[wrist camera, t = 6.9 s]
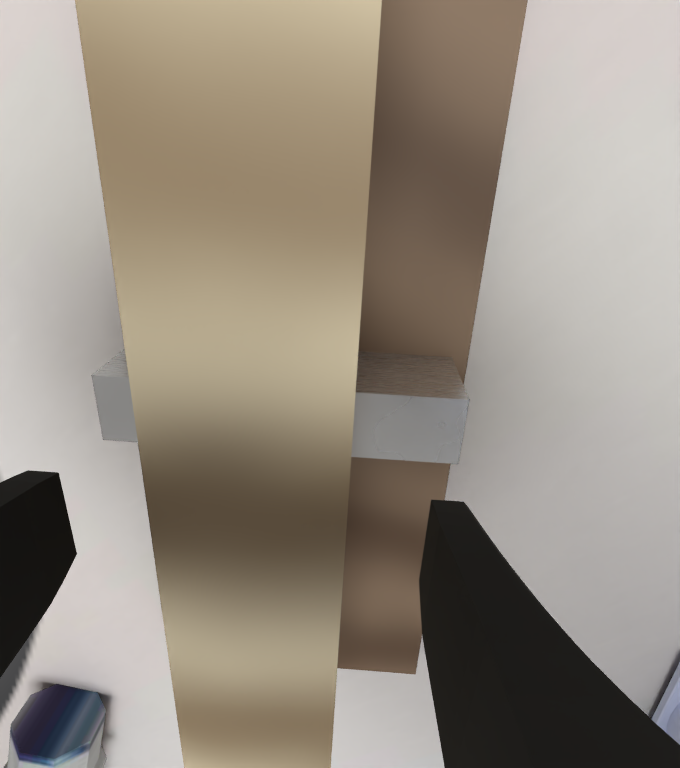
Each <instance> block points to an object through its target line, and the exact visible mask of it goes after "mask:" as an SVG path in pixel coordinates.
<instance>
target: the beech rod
mask: <svg viewBox="0 0 680 768" xmlns="http://www.w3.org/2000/svg"><path fill="white" fill-rule="evenodd" d="M75 4H76V11H77V18H78V25H79V32H80V39H81V46H82V53H83V60H84V67H85V74H86V81H87V88H88V95H89V102H90V109H91V116H92V123H93V130H94V137H95V144H96V151H97V158H98V165H99V172H100V179H101V186H102V193H103V200H104V207H105V214H106V221H107V228H108V235H109V242H110V249H111V256H112V263H113V270H114V277H115V284H116V291H117V298H118V305H119V312H120V320H121V327H122V334H123V341H124V348H125V355H126V362H127V369H128V376H129V383H130V390H131V397H132V404H133V411H134V418H135V425H136V432H137V439H138V446H139V453H140V460H141V467H142V474H143V481H144V488H145V495H146V502H147V509H148V516H149V523H150V530H151V537H152V544H153V551H154V558H155V565H156V572H157V579H158V586H159V593H160V600H161V607H162V614H163V621H164V628H165V635H166V642H167V649H168V656H169V663H170V670H171V678H172V685H173V692H174V699H175V706H176V713H177V720H178V727H179V734H180V741H181V748H182V755H183V762H184V768H330V767H331V752H332V737H333V723H334V708H335V693H336V678H337V663H338V648H339V633H340V618H341V603H342V588H343V573H344V558H345V543H346V528H347V513H348V498H349V484H350V469H351V454H352V439H353V424H354V409H355V394H356V379H357V364H358V349H359V334H360V319H361V304H362V289H363V274H364V259H365V245H366V230H367V215H368V200H369V185H370V170H371V155H372V140H373V125H374V110H375V95H376V80H377V65H378V50H379V35H380V20H381V6H382V0H75Z"/></svg>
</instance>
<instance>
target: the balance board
mask: <svg viewBox="0 0 680 768" xmlns="http://www.w3.org/2000/svg"><path fill="white" fill-rule="evenodd" d="M527 1H528V0H382V6H381V20H380V35H379V50H378V65H377V80H376V95H375V110H374V125H373V140H372V155H371V170H370V185H369V200H368V215H367V230H366V245H365V259H364V274H363V289H362V304H361V319H360V334H359V349H358V351H362V352H378V353H394V354H410V355H426V356H442V357H452V358H453V361H454V363H455V366H456V368H457V371H458V373H459V376H460V378H461V381H462V383H463V385H464V379H465V373H466V367H467V361H468V355H469V349H470V343H471V337H472V331H473V325H474V319H475V313H476V307H477V301H478V295H479V289H480V283H481V277H482V271H483V265H484V259H485V253H486V247H487V241H488V235H489V229H490V223H491V217H492V211H493V205H494V199H495V193H496V187H497V181H498V175H499V169H500V163H501V157H502V151H503V145H504V139H505V133H506V127H507V121H508V115H509V109H510V103H511V97H512V91H513V85H514V79H515V73H516V67H517V61H518V55H519V49H520V43H521V37H522V31H523V25H524V19H525V13H526V7H527ZM449 469H450V464H449V463H434V462H419V461H405V460H390V459H376V458H361V457H351V469H350V484H349V498H348V513H347V528H346V543H345V558H344V573H343V588H342V603H341V618H340V633H339V648H338V663H337V668H343V669H356V670H368V671H381V672H393V673H406V674H415V673H416V667H417V661H418V655H419V649H420V643H421V637H422V625H421V610H420V591H419V576H420V569H421V563H422V556H423V550H424V543H425V537H426V530H427V523H428V517H429V510H430V504H431V500H444V499H445V493H446V487H447V481H448V475H449Z"/></svg>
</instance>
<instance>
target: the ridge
mask: <svg viewBox="0 0 680 768" xmlns="http://www.w3.org/2000/svg"><path fill="white" fill-rule="evenodd" d="M92 380H93V386H94V391H95V397H96V403H97V408H98V414H99V420H100V425H101V431H102V437H103V440H113V441H128V442H138V439H137V432H136V425H135V418H134V411H133V404H132V397H131V390H130V383H129V376H128V369H127V362H126V355H125V349H124V350H122V351H121V352H120V353H119V354H117V355H116V356H115V357H114V358H112V359H111V360H110V361H109V362H107V363H106V364H105V365H104V366H102V367H101V368H100V369H99V370H97V371H96V372H95V373H94V374H93V375H92ZM468 405H469V398H468V395H467V393H466V390H465V388H464V385H463V383H462V381H461V378H460V376H459V373H458V371H457V368H456V366H455V363H454V361H453V358H452V357H442V356H426V355H410V354H394V353H378V352H362V351H358V364H357V379H356V394H355V409H354V424H353V439H352V454H351V457H361V458H376V459H390V460H405V461H419V462H434V463H449V464H458V462H459V456H460V450H461V445H462V439H463V433H464V427H465V422H466V416H467V410H468Z"/></svg>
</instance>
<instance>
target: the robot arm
mask: <svg viewBox="0 0 680 768" xmlns="http://www.w3.org/2000/svg"><path fill="white" fill-rule="evenodd" d="M76 555H77V552H76V548H75V544H74V539H73V535H72V530H71V526H70V521H69V517H68V513H67V508H66V504H65V499H64V495H63V490H62V486H61V482H60V477H59V473H55V472H41V471H26V472H23V473H21V474H18V475H16V476H14V477H11V478H9V479H7V480H5V481H3V482H1V483H0V677H1V676H2V675H3V673H4V672H5V670H6V669H7V667H8V666H9V664H10V663H11V662H12V660H13V659H14V657H15V656H16V654H17V653H18V652H19V650H20V649H21V647H22V646H23V644H24V643H25V641H26V640H27V639H28V637H29V636H30V634H31V633H32V631H33V630H34V628H35V627H36V625H37V624H38V622H39V621H40V619H41V618H42V617H43V615H44V614H45V612H46V611H47V609H48V608H49V606H50V604H51V603H52V601H53V599H54V597H55V596H56V594H57V592H58V590H59V588H60V586H61V584H62V583H63V581H64V579H65V577H66V575H67V573H68V571H69V569H70V567H71V565H72V563H73V561H74V559H75V557H76ZM419 591H420V610H421V625H422V636H423V642H424V648H425V654H426V660H427V666H428V672H429V678H430V684H431V689H432V695H433V701H434V707H435V713H436V719H437V724H438V730H439V736H440V742H441V748H442V754H443V760H444V766H445V768H680V662H679V664H678V666H677V669H676V671H675V673H674V675H673V677H672V679H671V681H670V683H669V685H668V687H667V689H666V691H665V693H664V695H663V697H662V699H661V701H660V703H659V705H658V707H657V709H656V711H655V713H654V715H653V717H652V719H650V718H649V717H648V716H647V715H646V714H645V713H644V712H643V711H642V710H641V709H640V708H639V707H638V706H637V705H635V704H634V703H633V702H632V701H631V700H630V699H629V698H628V697H627V696H626V695H625V694H624V693H623V692H622V691H621V690H620V689H619V688H618V687H617V686H616V685H615V684H614V683H613V682H612V681H611V680H610V679H609V678H608V677H607V676H606V675H605V674H604V673H603V672H602V671H601V670H600V669H599V668H598V667H597V666H596V665H595V664H594V663H593V662H592V661H591V660H590V659H589V658H588V657H587V656H586V655H585V653H584V652H583V651H582V650H581V649H580V648H579V647H578V646H577V645H576V644H575V643H574V641H573V640H572V639H571V638H570V637H569V636H568V635H567V634H566V632H565V631H564V630H563V629H562V628H561V627H560V626H559V624H558V623H557V622H556V621H555V620H554V619H553V618H552V616H551V615H550V614H549V613H548V612H547V611H546V609H545V608H544V607H543V606H542V605H541V603H540V602H539V601H538V600H537V599H536V597H535V596H534V595H533V594H532V592H531V591H530V590H529V589H528V587H527V586H526V585H525V584H524V582H523V581H522V580H521V579H520V577H519V576H518V575H517V574H516V572H515V571H514V570H513V569H512V567H511V566H510V565H509V563H508V562H507V561H506V559H505V558H504V557H503V555H502V554H501V553H500V551H499V550H498V549H497V547H496V546H495V544H494V543H493V542H492V540H491V539H490V538H489V536H488V535H487V533H486V532H485V531H484V529H483V528H482V526H481V525H480V523H479V522H478V521H477V519H476V518H475V516H474V515H473V513H472V512H471V511H470V509H469V508H468V506H467V505H466V504H465V503H464V502H459V501H445V500H431V504H430V510H429V517H428V523H427V530H426V537H425V543H424V550H423V556H422V563H421V569H420V576H419Z"/></svg>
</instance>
